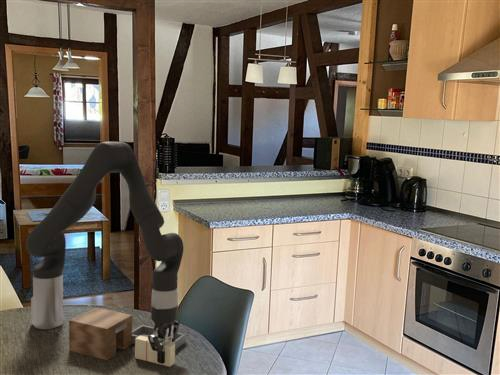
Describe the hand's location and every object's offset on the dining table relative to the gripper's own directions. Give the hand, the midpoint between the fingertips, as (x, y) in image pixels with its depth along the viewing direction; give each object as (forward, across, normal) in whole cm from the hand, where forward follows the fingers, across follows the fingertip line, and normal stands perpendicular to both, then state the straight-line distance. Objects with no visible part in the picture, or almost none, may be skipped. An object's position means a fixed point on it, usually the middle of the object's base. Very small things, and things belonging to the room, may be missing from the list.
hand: (163, 360), depth 142 cm
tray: (+1, -10, -10) cm, 14 cm away
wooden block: (+1, 0, -22) cm, 23 cm away
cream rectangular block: (+1, 0, -3) cm, 3 cm away
